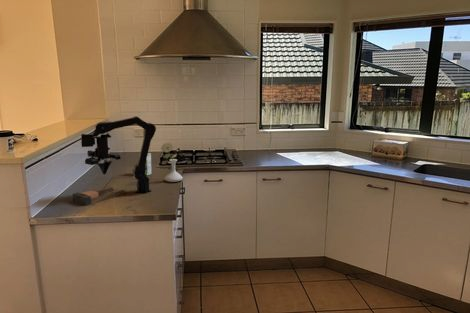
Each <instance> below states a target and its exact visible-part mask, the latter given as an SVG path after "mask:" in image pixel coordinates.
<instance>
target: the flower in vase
mask: <svg viewBox="0 0 470 313" xmlns="http://www.w3.org/2000/svg"><path fill="white" fill-rule="evenodd" d="M160 149H161V152H164V153H168V154H164V155H163V157H162V158H163V159H164V158H165V159H168V158H169V157H170V159H169V162H170V164H171V171H170V172H169V173H168V174H166V175H165V177H164V180H165V181H166V182H171V183H177V182H180V181H183V176H182V174H180V173H179V172H177V171H176V163H177V162H178V159H176V157H177V155H178V153H175V154H173V155H172V156H171V155H170V152H171V151H173V149H174V143H172V142H164V143H163V144H162V146H161V148H160Z"/></svg>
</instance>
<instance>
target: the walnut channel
mask: <svg viewBox="0 0 470 313" xmlns="http://www.w3.org/2000/svg"><path fill="white" fill-rule="evenodd" d="M95 191H96V192H98V195H99V197H96V198H93V199H91V196H88V195H84V194H81V193H82V192H75V193H72V202H74V203H76V204H80V205H82V206H89V205H92V204H95V203H98V202H102V201H105V200H109V199H113V198H115V197H118V196H122V195H124V194H125V190H124V189H121V190H117V191H114V187H113V186H110V187H106V188H103V189H100V190H95ZM113 191H114V192H113ZM103 193H104V194H103ZM100 194H101V195H100Z"/></svg>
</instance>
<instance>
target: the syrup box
mask: <svg viewBox="0 0 470 313" xmlns="http://www.w3.org/2000/svg"><path fill="white" fill-rule="evenodd" d="M138 155H139V156H140V153H139V154H138ZM145 174H146V175H147V176H149V175H152V153H151V152H148V155H147V159H146V163H145Z"/></svg>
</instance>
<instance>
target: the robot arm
mask: <svg viewBox="0 0 470 313" xmlns="http://www.w3.org/2000/svg"><path fill="white" fill-rule="evenodd" d="M134 125H137V126H139V127H140V128H142V129H143V130H142V131H143V140H142V143H141V149H140V152H139V154H140V156H139V157H138V162H137V163H136V164H133V169H132V173H133V176H134V178H135V179H136V188H137V189H136V190H135V192H136V193H138V194H139V193H140V194H147V193H149V192H152V189H150V177H149V175H146V174H145V163H146V159H147V155H148V153H149V150H150V146H151V141H152V140H153V137H154V136H155V133H156V131H157V127H156V126H155V125H154V124H153V123H151V122H146V121H144V120H143V119H141V118H140V117H139V116H133V117H129V118H123V119H119V120H114V121H99V122H97V123H96V124H95V126H94V127H95V129H94V131H92V133H82V134H80V135H81V139H80V142H81V148H91V147H92V148H93V147H94V146H95V145H96V147H95V148H94V151H93V150H92V149H91V150H87V157H88V158H85V160H84V164H85V165H89V166H95V165H98V166H99V169H100V171H101V173H102V174H103V175H106V174H107V172H108V170H109V167H110V166H111V164H112V163H113V161H112V159H114V160H116V161H119V160H121V159H122V158H121V154H120V153H109V151H110V150H111V147H109V138H112V135H111V134H110V132H111V131H113V130H115V129H120V128H124V127H130V126H134ZM99 135H100V136H99Z"/></svg>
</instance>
